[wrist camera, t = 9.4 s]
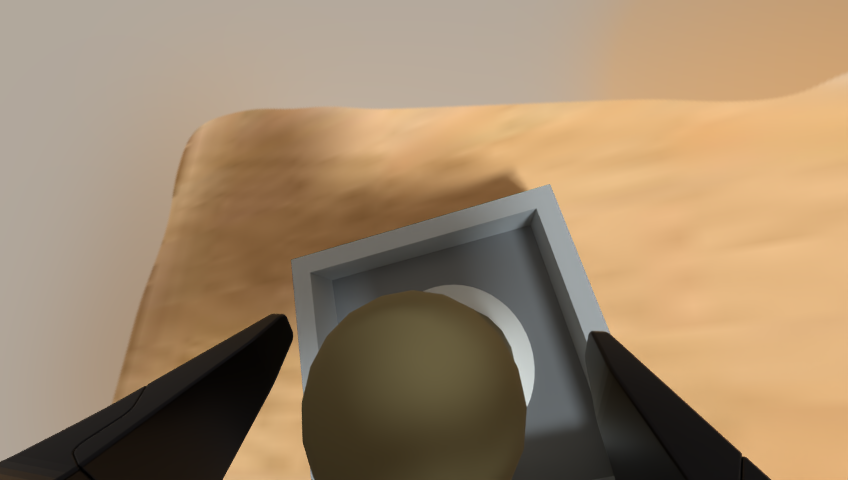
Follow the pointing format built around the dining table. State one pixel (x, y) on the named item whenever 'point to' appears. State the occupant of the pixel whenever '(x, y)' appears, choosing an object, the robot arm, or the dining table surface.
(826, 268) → the dining table surface
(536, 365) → the walled pen
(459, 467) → the cork
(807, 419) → the dining table surface
